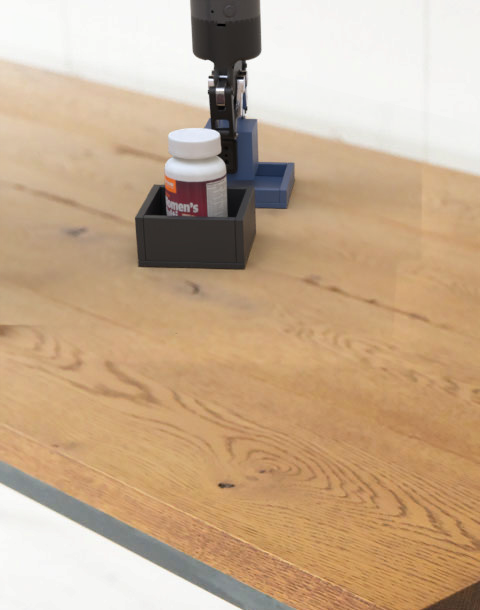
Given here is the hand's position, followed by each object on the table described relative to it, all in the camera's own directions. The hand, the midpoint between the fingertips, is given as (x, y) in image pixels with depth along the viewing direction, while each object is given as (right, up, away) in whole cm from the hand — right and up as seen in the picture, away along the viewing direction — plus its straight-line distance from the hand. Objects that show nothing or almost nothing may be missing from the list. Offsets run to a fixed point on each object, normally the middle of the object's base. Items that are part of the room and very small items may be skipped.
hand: (231, 164), depth 153 cm
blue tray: (0, -3, +2) cm, 3 cm away
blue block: (0, -1, 0) cm, 1 cm away
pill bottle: (-2, -12, -15) cm, 19 cm away
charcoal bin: (-2, -12, -15) cm, 19 cm away
